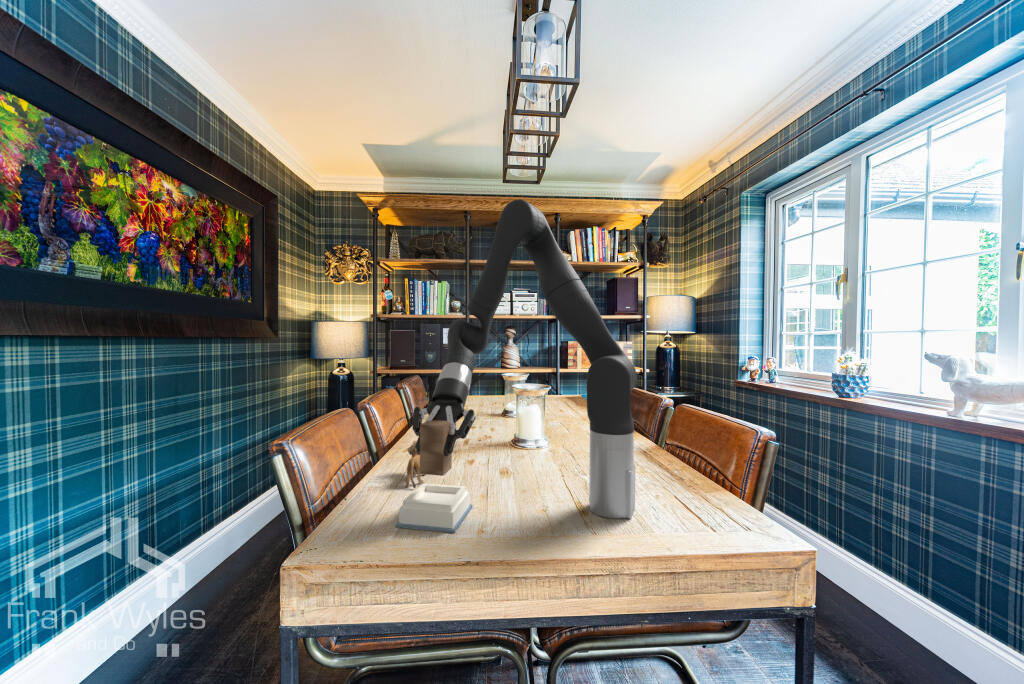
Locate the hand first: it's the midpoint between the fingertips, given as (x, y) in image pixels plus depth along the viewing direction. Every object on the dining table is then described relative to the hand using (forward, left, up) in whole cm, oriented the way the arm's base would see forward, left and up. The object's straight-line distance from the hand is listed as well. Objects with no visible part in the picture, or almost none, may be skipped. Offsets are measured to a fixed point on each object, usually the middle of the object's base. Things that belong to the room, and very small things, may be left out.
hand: (432, 453), depth 83 cm
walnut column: (+1, -2, -4) cm, 5 cm away
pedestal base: (0, -2, -14) cm, 14 cm away
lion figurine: (+19, -18, -14) cm, 29 cm away
